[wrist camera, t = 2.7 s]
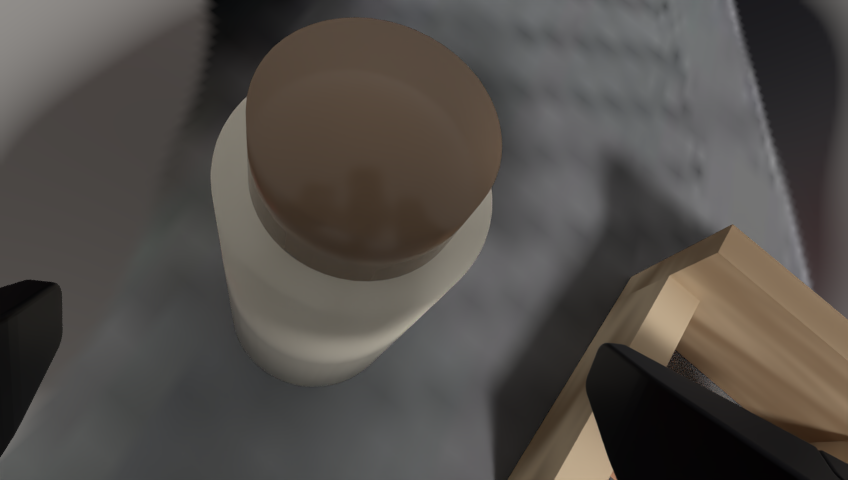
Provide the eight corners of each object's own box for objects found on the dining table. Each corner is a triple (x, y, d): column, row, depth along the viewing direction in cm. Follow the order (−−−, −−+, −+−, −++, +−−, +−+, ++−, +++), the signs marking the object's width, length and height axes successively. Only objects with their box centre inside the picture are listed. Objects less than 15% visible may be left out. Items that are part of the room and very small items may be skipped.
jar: (322, 423, 19) (406, 360, 8) (194, 309, 19) (113, 103, 8) (424, 300, 22) (589, 131, 11) (311, 202, 22) (364, -56, 11)
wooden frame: (736, 710, 19) (920, 802, 14) (495, 498, 20) (584, 509, 14) (822, 438, 24) (980, 429, 19) (631, 276, 25) (732, 224, 20)
